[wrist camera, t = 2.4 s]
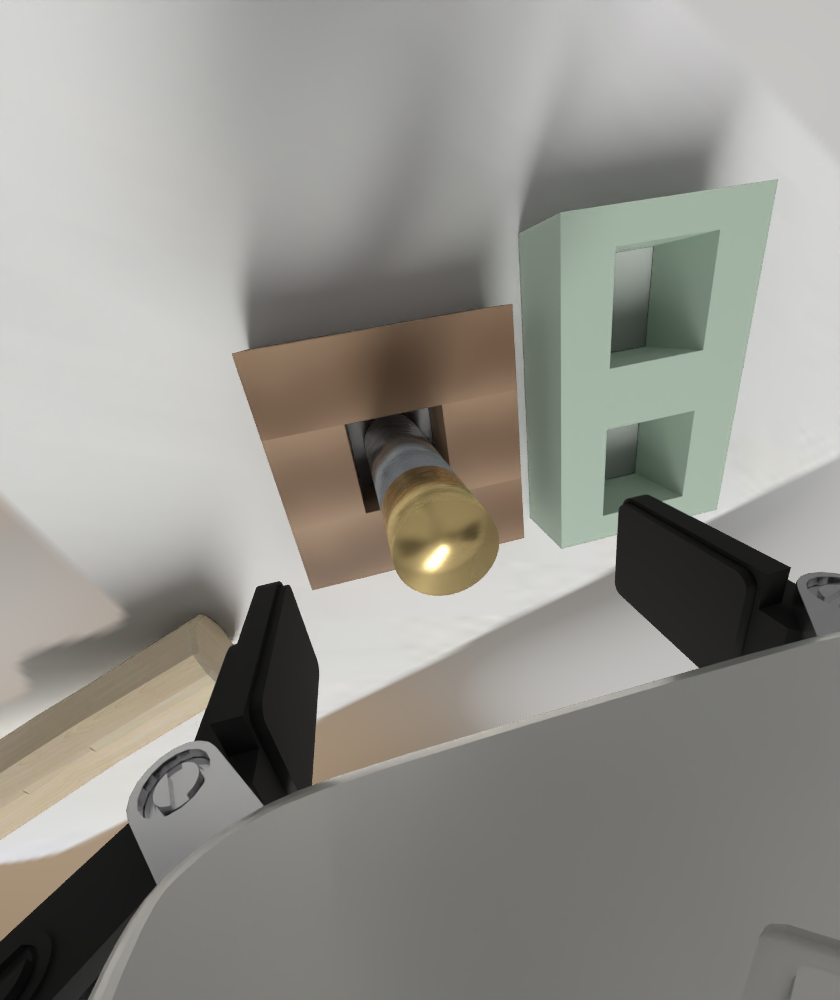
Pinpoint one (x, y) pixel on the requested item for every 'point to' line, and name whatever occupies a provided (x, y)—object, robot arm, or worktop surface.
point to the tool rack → (637, 352)
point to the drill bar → (427, 511)
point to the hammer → (108, 720)
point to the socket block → (377, 393)
